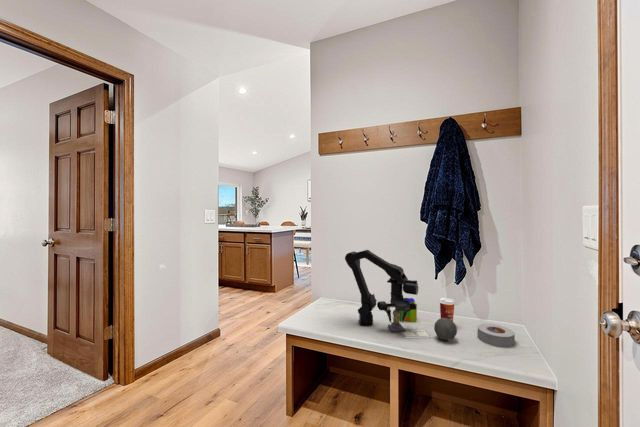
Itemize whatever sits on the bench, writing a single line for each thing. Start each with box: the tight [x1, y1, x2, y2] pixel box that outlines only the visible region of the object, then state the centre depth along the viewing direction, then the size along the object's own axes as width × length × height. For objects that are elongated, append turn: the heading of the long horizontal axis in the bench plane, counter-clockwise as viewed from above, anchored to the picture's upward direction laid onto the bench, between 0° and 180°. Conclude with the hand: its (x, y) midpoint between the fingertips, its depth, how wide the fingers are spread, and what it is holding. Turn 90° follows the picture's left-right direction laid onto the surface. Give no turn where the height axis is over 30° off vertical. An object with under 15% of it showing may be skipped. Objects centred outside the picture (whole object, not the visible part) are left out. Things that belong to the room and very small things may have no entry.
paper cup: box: [439, 297, 456, 322], centre depth 163 cm, size 8×8×14 cm
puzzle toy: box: [394, 297, 418, 323], centre depth 174 cm, size 10×10×10 cm
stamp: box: [390, 309, 402, 328], centre depth 158 cm, size 4×4×9 cm
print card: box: [400, 329, 433, 339], centre depth 153 cm, size 13×8×1 cm, turn 94°
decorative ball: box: [433, 317, 458, 341], centre depth 148 cm, size 10×10×10 cm
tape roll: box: [477, 323, 516, 348], centre depth 147 cm, size 15×15×5 cm
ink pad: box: [387, 323, 406, 334], centre depth 159 cm, size 7×7×2 cm
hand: (396, 322), depth 158 cm, fingers open, 6 cm apart
